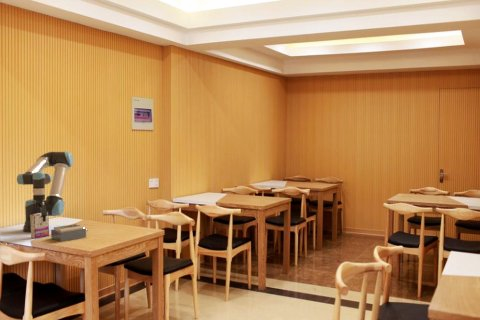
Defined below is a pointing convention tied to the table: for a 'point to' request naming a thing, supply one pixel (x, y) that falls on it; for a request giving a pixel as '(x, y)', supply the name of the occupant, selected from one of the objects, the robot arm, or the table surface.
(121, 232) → the table surface
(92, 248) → the table surface
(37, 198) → the robot arm
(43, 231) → the candy bar box
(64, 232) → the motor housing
